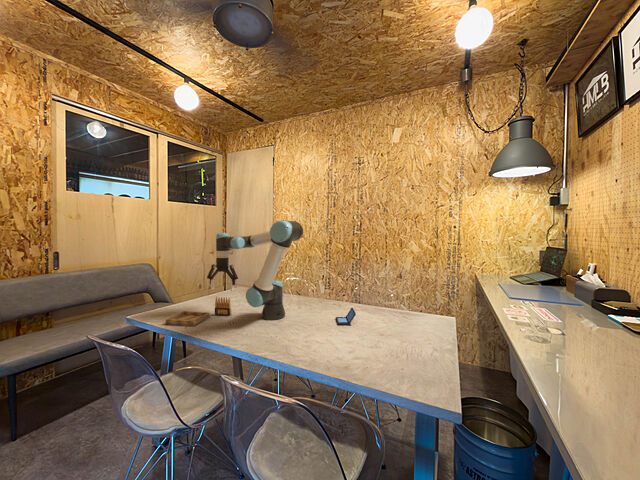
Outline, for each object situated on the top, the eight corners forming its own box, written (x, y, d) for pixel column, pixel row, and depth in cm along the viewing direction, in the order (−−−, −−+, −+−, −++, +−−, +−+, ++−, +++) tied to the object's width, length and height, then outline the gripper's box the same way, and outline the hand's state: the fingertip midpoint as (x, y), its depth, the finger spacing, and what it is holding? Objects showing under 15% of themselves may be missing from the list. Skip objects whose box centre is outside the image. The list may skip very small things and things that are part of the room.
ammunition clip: (231, 315, 168) (231, 296, 167) (229, 316, 166) (229, 297, 165) (216, 314, 169) (215, 296, 169) (214, 315, 167) (214, 296, 167)
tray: (209, 317, 163) (209, 312, 163) (194, 326, 147) (194, 321, 147) (183, 315, 166) (183, 311, 166) (165, 324, 150) (165, 319, 150)
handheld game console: (335, 318, 163) (335, 307, 163) (352, 318, 163) (352, 306, 163) (337, 326, 150) (337, 313, 150) (355, 325, 151) (356, 313, 151)
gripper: (243, 257, 168) (243, 289, 169) (207, 256, 171) (207, 287, 172) (238, 258, 161) (238, 292, 162) (200, 257, 164) (201, 290, 165)
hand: (222, 289), depth 167 cm, fingers open, 13 cm apart
